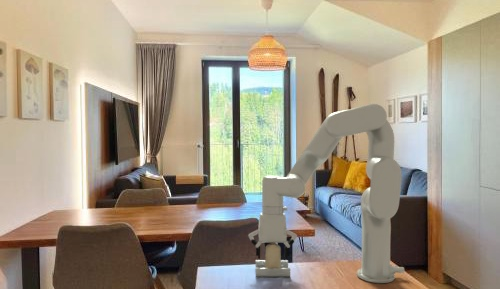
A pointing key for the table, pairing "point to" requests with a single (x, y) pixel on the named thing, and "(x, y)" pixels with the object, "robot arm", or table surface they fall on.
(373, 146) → the robot arm
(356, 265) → the table surface
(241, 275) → the table surface
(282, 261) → the track
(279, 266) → the candle
